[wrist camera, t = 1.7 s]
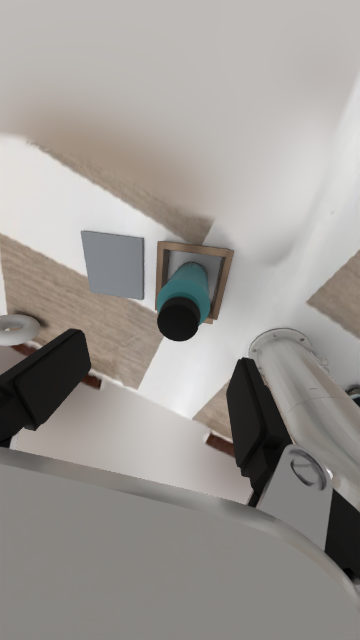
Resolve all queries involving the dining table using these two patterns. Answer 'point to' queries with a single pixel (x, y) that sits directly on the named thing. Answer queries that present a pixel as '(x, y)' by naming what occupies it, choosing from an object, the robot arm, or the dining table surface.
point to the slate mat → (114, 264)
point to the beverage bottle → (183, 303)
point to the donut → (26, 333)
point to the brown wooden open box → (226, 254)
